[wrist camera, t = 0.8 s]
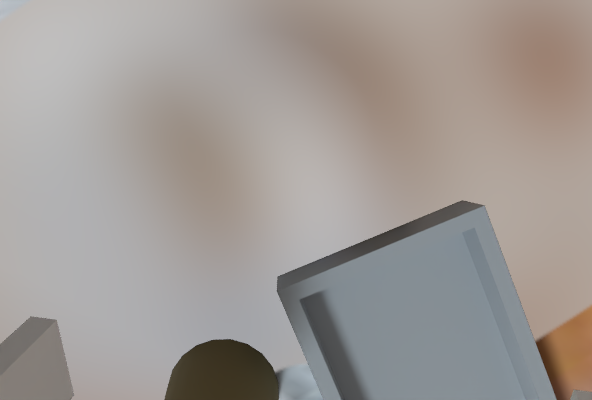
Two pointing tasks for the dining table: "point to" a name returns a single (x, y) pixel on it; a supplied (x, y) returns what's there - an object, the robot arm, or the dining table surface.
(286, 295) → the trough
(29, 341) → the robot arm
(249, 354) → the cork
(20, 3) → the dining table surface
